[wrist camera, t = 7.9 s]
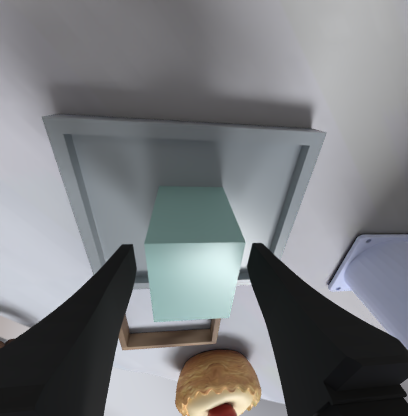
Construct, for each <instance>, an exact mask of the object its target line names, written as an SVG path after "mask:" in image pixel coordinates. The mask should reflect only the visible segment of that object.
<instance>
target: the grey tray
mask: <svg viewBox="0 0 408 416" xmlns="http://www.w3.org/2000/svg"><path fill="white" fill-rule="evenodd" d="M42 119H43V122H44V125H45V128H46V131H47V134H48V137H49V140H50V143H51V146H52V150H53V153H54V156H55V159H56V162H57V165H58V168H59V171H60V174H61V177H62V180H63V183H64V186H65V189H66V192H67V195H68V198H69V201H70V204H71V207H72V210H73V214H74V217H75V220H76V223H77V226H78V229H79V232H80V235H81V238H82V241H83V244H84V247H85V250H86V253H87V256H88V259H89V262H90V265H91V268H92V271H93V274H95V273H96V272H97V271H98V270H99V269H100V268H101V267H102V266H103V265H104V264H105V263H106V262H107V261H108V259H109V258H110V257H111V256H112V255H113V254H114V253H115V251H116V250H117V249H118V248H119V247H120V246H121V245H122V244H133V247H134V254H135V260H136V266H137V271H136V277H135V282H134V287H133V289H150V286H149V278H148V271H147V263H146V255H145V247H144V242H145V238H146V235H147V231H148V227H149V223H150V219H151V215H152V212H153V208H154V204H155V200H156V196H157V192H158V189H159V186H183V187H223V189H224V191H225V194H226V196H227V198H228V201H229V203H230V206H231V208H232V210H233V213H234V215H235V218H236V220H237V222H238V225H239V227H240V230H241V232H242V234H243V237H244V239H245V242H246V243H245V248H244V253H243V257H242V262H241V266H240V271H239V275H238V280H237V285H236V286H239V285H251V282H250V278H249V274H248V270H247V263H248V259H249V255H250V251H251V247H252V243H263V244H264V245H265V246H266V247H267V248H268V249H269V250H270V251H271V252H272V253H273V254H274V255H275V256H276V257H277V258H278V259H279V260H281V257H282V254H283V251H284V249H285V246H286V243H287V240H288V238H289V235H290V232H291V229H292V227H293V224H294V221H295V218H296V216H297V213H298V210H299V207H300V205H301V202H302V199H303V196H304V194H305V191H306V188H307V185H308V183H309V180H310V177H311V174H312V172H313V169H314V166H315V163H316V161H317V158H318V155H319V152H320V150H321V147H322V144H323V142H324V139H325V136H326V132H322V131H319V130H315V129H311V128H293V127H276V126H259V125H242V124H225V123H207V122H190V121H173V120H156V119H139V118H121V117H104V116H87V115H70V114H55V115H49V116H43V117H42Z"/></svg>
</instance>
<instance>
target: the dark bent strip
mask: <svg viewBox="0 0 408 416" xmlns="http://www.w3.org/2000/svg"><path fill="white" fill-rule="evenodd" d="M220 320H221V318H218V319H212V320H211V327H210V329H199V330H182V331H166V332H149V333H133V334H130V331H129V327H128V323H127V319H126V315H125V316H124V319H123V322H122V326H121V329H120V333H119V340H120V344H121V347H122V350H133V349H147V348H161V347H176V346H190V345H205V344H216V341H217V336H218V331H219V325H220Z"/></svg>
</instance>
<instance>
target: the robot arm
mask: <svg viewBox="0 0 408 416" xmlns="http://www.w3.org/2000/svg"><path fill="white" fill-rule="evenodd" d="M247 270H248V274H249V278H250V282H251V285H252V287H253V290H254V293H255V295H256V298H257V301H258V303H259V306H260V309H261V311H262V314H263V317H264V319H265V322H266V325H267V329H268V333H269V336H270V340H271V344H272V348H273V351H274V355H275V359H276V363H277V368H278V372H279V376H280V381H281V385H282V390H283V395H284V399H285V404H286V409H287V414H288V416H408V403H407V402H406V400H405V399H404V398H403V397H406V396H407V394H406V392H405V391H404V389H403V388H402V387H401V385H400V384H401V383H402V382H403V381H405V380H406V379H407V378H408V234H383V235H360V236H359V237H357V239H356V240H355V242H354V244H353V245H352V247H351V249H350V251H349V252H348V254H347V256H346V257H345V259H344V261H343V262H342V264H341V266H340V267H339V269H338V271H337V272H336V274H335V276H334V277H333V279H332V281H331V283H330V284H329V286H328V289H329V290H330V291H353V292H354V293H355V294H356V296H357V297H358V298H359V299H360V300H361V301H362V303H363V304H364V305H365V306H366V307H367V308H368V310H369V311H370V312H371V313H372V314H373V316H374V317H375V318H376V319H377V320H378V321H379V323H380V324H381V325H382V326H383V327H384V328H385V330H386V331H387V332H388V333H389V334H390V335H389V334H387V333H386V332H384V331H382V330H380V329H378V328H376V327H374V326H372V325H370V324H368V323H366V322H365V321H363V320H361V319H359V318H358V317H356V316H354V315H352V314H351V313H349V312H348V311H346V310H344V309H343V308H341V307H339V306H338V305H336V304H335V303H333V302H332V301H330V300H329V299H327V298H326V297H324V296H323V295H322V294H320V293H319V292H317V291H316V290H315V289H313V288H312V287H311V286H309V285H308V284H307V283H306V282H304V281H303V280H302V279H301V278H299V277H298V276H297V275H296V274H295V273H294V272H292V271H291V270H290V269H289V268H288V267H287V266H286V265H285V264H284V263H283V262H281V261H280V260H279V259H278V258H277V257H276V256H275V255H274V254H273V253H272V252H271V251H270V250H269V249H268V248H267V247H266V246H265V245H264V244H263V243H252V247H251V251H250V255H249V259H248V263H247ZM136 271H137V266H136V260H135V254H134V247H133V244H122V245H121V246H120V247H119V248H118V249H117V250H116V251H115V253H114V254H113V255H112V256H111V257H110V258H109V259H108V261H107V262H106V263H105V264H104V265H103V266H102V267H101V268H100V269H99V270H98V271H97V272H96V273H95V274H94V276H92V277H91V278H90V279H89V280H88V281H87V282H86V283H85V284H84V285H83V286H82V287H81V288H80V289H79V290H78V291H77V292H76V293H75V294H74V295H72V296H71V297H70V298H69V299H68V300H67V301H65V302H64V303H63V304H62V305H61V306H59V307H58V308H57V309H56V310H54V311H53V312H52V313H50V314H49V315H48V316H46V317H45V318H44V319H43V320H41V321H40V322H39V323H37V324H36V325H34V326H33V327H32V328H30V329H29V330H27V331H26V332H25V333H23V334H22V335H20V336H19V337H17V338H16V339H14V340H13V341H11V342H10V343H8V344H7V345H5V346H4V347H2V348H0V416H104V410H105V403H106V398H107V393H108V387H109V382H110V376H111V371H112V366H113V361H114V356H115V351H116V347H117V342H118V337H119V333H120V329H121V326H122V322H123V319H124V316H125V313H126V309H127V306H128V303H129V300H130V297H131V293H132V290H133V287H134V282H135V277H136Z"/></svg>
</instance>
